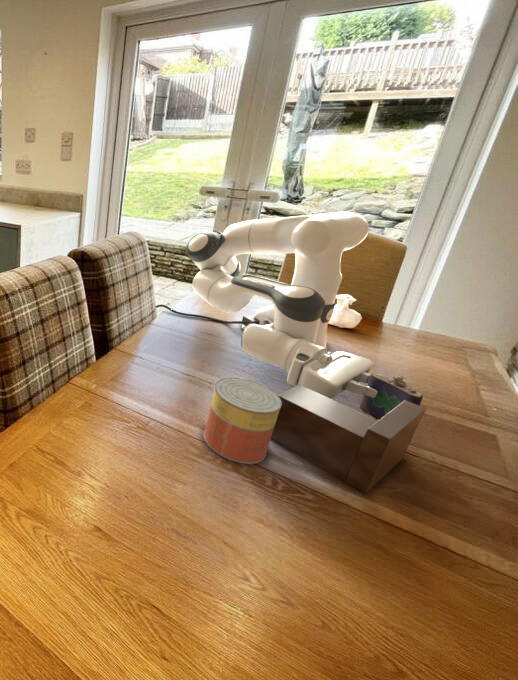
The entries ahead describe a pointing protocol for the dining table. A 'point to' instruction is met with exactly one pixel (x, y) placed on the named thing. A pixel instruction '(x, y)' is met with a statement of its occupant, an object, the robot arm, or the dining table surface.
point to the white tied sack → (345, 313)
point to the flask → (388, 395)
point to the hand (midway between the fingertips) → (381, 391)
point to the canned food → (241, 419)
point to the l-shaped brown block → (345, 435)
